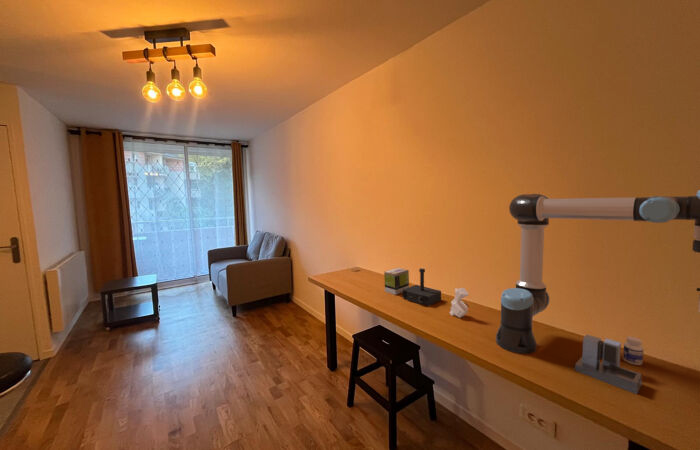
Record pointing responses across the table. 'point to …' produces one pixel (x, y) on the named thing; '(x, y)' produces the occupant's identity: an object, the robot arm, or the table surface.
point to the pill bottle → (633, 351)
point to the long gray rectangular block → (611, 352)
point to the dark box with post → (422, 293)
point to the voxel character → (459, 303)
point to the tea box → (396, 280)
